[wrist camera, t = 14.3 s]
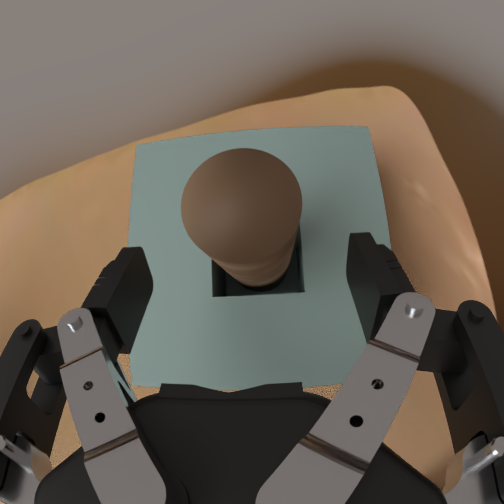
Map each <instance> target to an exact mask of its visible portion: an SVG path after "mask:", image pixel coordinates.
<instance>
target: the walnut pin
mask: <svg viewBox="0 0 504 504" xmlns="http://www.w3.org/2000/svg"><path fill="white" fill-rule="evenodd" d="M301 213H302V193H301V189H300V186H299V183H298V181H297V179H296V177H295V175H294V174H293V172H292V171H291V169H290V168H289V167H288V166H287V165H286V164H285V163H284V162H283V161H281V160H280V159H279V158H277V157H275V156H274V155H272V154H270V153H267V152H265V151H262V150H257V149H252V148H237V149H230V150H227V151H223V152H221V153H218V154H216V155H214V156H212V157H210V158H209V159H207V160H206V161H204V162H203V163H202V164H201V165H200V166H199V167H198V168H197V169H196V170H195V171H194V172H193V174H192V175H191V176H190V178H189V180H188V181H187V183H186V185H185V188H184V191H183V194H182V199H181V216H182V222H183V225H184V228H185V230H186V232H187V234H188V236H189V237H190V238H191V240H192V241H193V242H194V243H195V245H196V246H197V247H198V248H200V249H201V250H202V251H203V252H204V253H205V254H207V255H208V256H209V257H210V258H211V259H212V260H214V261H215V262H216V263H217V264H218V265H219V266H221V267H222V268H223V269H224V270H225V271H226V272H228V273H229V274H230V275H231V276H232V277H233V278H235V279H236V280H237V281H238V282H239V283H241V284H242V285H243V286H244V287H246V288H247V289H249V290H252V291H256V292H265V291H269V290H272V289H274V288H276V287H277V286H278V285H280V284H281V283H282V281H283V280H284V278H285V277H286V274H287V271H288V267H289V263H290V259H291V255H292V251H293V247H294V243H295V239H296V235H297V230H298V226H299V222H300V218H301Z"/></svg>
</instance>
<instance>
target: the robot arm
mask: <svg viewBox="0 0 504 504" xmlns="http://www.w3.org/2000/svg"><path fill="white" fill-rule="evenodd" d="M346 277H347V282H348V285H349V288H350V291H351V295H352V298H353V301H354V304H355V307H356V310H357V313H358V316H359V319H360V323H361V326H362V329H363V333H364V336H365V339H366V343H367V345H366V347H365V349H364V351H363V352H362V354H361V356H360V357H359V359H358V361H357V362H356V364H355V366H354V367H353V369H352V370H351V372H350V374H349V375H348V377H347V378H346V380H345V381H344V383H343V384H342V386H341V388H340V389H339V391H338V392H337V394H336V395H335V397H334V398H333V400H332V401H331V400H329V399H327V398H325V397H323V396H320V395H317V394H313V393H309V392H303V386H302V382H292V383H275V384H264V385H260V386H256V387H252V388H248V389H244V390H240V391H235V392H230V393H227V392H222V391H218V390H214V389H209V388H205V387H201V386H197V385H193V384H168V383H161V387H160V391H159V393H156V394H153V395H149V396H146V397H144V398H141V399H140V400H137V398H136V396H135V394H134V392H133V390H132V388H131V386H130V384H129V382H128V380H127V378H126V376H125V374H124V372H123V370H122V368H121V365H120V363H119V362H118V360H117V357H118V355H119V353H122V354H130V353H131V350H132V347H133V345H134V342H135V339H136V336H137V333H138V330H139V328H140V325H141V322H142V319H143V317H144V314H145V311H146V308H147V306H148V303H149V301H150V298H151V295H152V293H153V278H152V274H151V271H150V268H149V265H148V262H147V259H146V256H145V253H144V250H143V248H142V247H140V246H137V247H124V248H122V249H121V251H120V253H119V254H118V256H117V257H116V259H115V260H113V261H111V262H110V263H109V264H108V265H107V266H106V267H105V268H104V269H103V270H102V272H101V274H100V275H99V279H97V280H96V282H95V284H94V286H93V287H92V289H91V290H90V292H89V294H88V296H87V297H86V299H85V301H84V303H83V304H82V306H81V308H76V309H73V310H71V311H69V312H67V313H66V314H65V315H64V316H63V317H62V318H61V319H60V320H59V322H58V326H55V327H50V328H46V329H43V328H42V326H41V325H40V323H39V322H38V321H37V320H34V319H31V320H27V321H25V322H23V323H21V324H20V325H19V326H18V327H17V328H16V329H15V331H14V332H13V334H12V336H11V338H10V340H9V341H8V343H7V345H6V347H5V349H4V351H3V353H2V355H1V357H0V501H1V502H3V503H5V504H504V334H503V332H502V330H501V328H500V326H499V324H498V323H497V321H496V319H495V317H494V315H493V314H492V312H491V310H490V309H489V308H488V307H487V306H486V305H484V304H482V303H481V302H478V301H474V300H467V301H464V302H462V303H461V304H460V306H459V307H458V310H457V312H455V311H447V310H440V309H435V306H434V304H433V303H432V301H431V300H430V299H428V298H427V297H426V296H424V295H422V294H419V293H416V292H415V290H414V288H413V286H412V285H411V283H410V281H409V279H408V277H407V276H406V274H405V272H404V270H403V269H402V267H401V265H400V263H399V262H398V260H397V258H396V256H395V255H394V253H393V251H392V250H390V249H389V248H388V247H386V246H385V245H384V244H376V242H375V240H374V238H373V236H372V235H371V233H370V232H358V233H350V235H349V242H348V253H347V263H346ZM33 369H34V370H35V372H36V373H37V374H38V375H39V379H38V381H37V384H36V386H35V389H34V391H33V394H32V397H31V399H30V398H29V397H28V395H27V391H26V387H27V383H28V381H29V378H30V376H31V374H32V371H33ZM416 370H419V371H428V372H433V373H434V376H435V380H436V383H437V386H438V390H439V393H440V396H441V400H442V403H443V407H444V411H445V415H446V418H447V422H448V426H449V430H450V434H451V439H452V443H453V448H454V452H455V455H454V456H453V457H452V458H451V459H450V461H449V463H448V465H447V468H446V482H445V486H444V488H443V490H442V491H441V490H440V489H439V488H438V487H437V486H436V485H435V484H434V483H432V482H431V481H430V480H429V479H427V478H426V477H425V476H423V475H422V474H421V473H420V472H418V471H417V470H416V469H415V468H413V467H412V466H411V465H410V464H408V463H407V462H406V461H405V460H403V459H402V458H401V457H400V456H399V455H397V454H396V453H395V452H394V451H392V450H391V449H390V448H389V447H388V446H386V445H385V444H384V443H383V442H382V441H383V439H384V437H385V435H386V433H387V431H388V430H389V428H390V426H391V424H392V422H393V420H394V418H395V416H396V414H397V412H398V410H399V407H400V405H401V403H402V401H403V399H404V397H405V395H406V392H407V390H408V388H409V385H410V383H411V381H412V378H413V376H414V374H415V371H416ZM66 399H67V400H68V404H69V407H70V411H71V414H72V417H73V420H74V424H75V427H76V430H77V433H78V436H79V438H80V441H81V444H82V446H81V447H80V448H79V449H78V450H76V451H75V452H74V453H73V454H71V455H70V456H69V457H68V458H67V459H65V460H64V461H63V462H62V463H60V464H59V465H58V466H57V467H56V468H54V469H53V470H52V467H51V462H50V455H51V451H52V447H53V443H54V439H55V436H56V432H57V429H58V425H59V422H60V418H61V415H62V412H63V409H64V405H65V402H66Z"/></svg>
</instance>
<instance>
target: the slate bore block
mask: <svg viewBox="0 0 504 504" xmlns="http://www.w3.org/2000/svg"><path fill="white" fill-rule="evenodd" d="M237 148H252V149H257V150H262V151H265V152H267V153H270V154H272V155H274V156H275V157H277V158H279V159H280V160H281V161H283V162H284V163H285V164H286V165H287V166H288V167H289V168H290V169H291V171H292V172H293V174H294V175H295V177H296V179H297V181H298V183H299V186H300V189H301V193H302V213H301V218H300V222H299V226H298V230H297V235H296V239H295V243H294V247H293V251H292V255H291V259H290V263H289V267H288V271H287V274H286V277H285V278H284V280H283V281H282V283H281V284H280V285H278V286H277V287H276V288H274V289H272V290H269V291H265V292H256V291H252V290H249V289H247V288H246V287H244V286H243V285H242V284H241V283H239V282H238V281H237V280H236V279H235V278H233V277H232V276H231V275H230V274H229V273H228V272H226V271H225V270H224V269H223V268H222V267H221V266H219V265H218V264H217V263H216V262H215V261H214V260H212V259H211V258H210V257H209V256H208V255H207V254H205V253H204V252H203V251H202V250H201V249H200V248H198V247H197V246H196V245H195V243H194V242H193V241H192V240H191V238H190V237H189V236H188V234H187V232H186V230H185V228H184V225H183V222H182V216H181V199H182V194H183V191H184V188H185V185H186V183H187V181H188V180H189V178H190V176H191V175H192V174H193V172H194V171H195V170H196V169H197V168H198V167H199V166H200V165H201V164H202V163H203V162H204V161H206V160H207V159H209V158H210V157H212V156H214V155H216V154H218V153H221V152H223V151H227V150H230V149H237ZM358 232H370V233H371V235H372V236H373V238H374V240H375V242H376V244H384V245H385V246H386V247H388V248H389V249H390V250H391V243H390V236H389V229H388V222H387V216H386V210H385V204H384V198H383V192H382V187H381V182H380V177H379V172H378V167H377V163H376V158H375V153H374V149H373V145H372V141H371V137H370V133H369V129H368V127H359V126H318V127H288V128H270V129H255V130H243V131H232V132H222V133H213V134H205V135H197V136H189V137H182V138H175V139H169V140H162V141H156V142H150V143H145V144H139V145H137V147H136V155H135V163H134V172H133V181H132V192H131V204H130V218H129V236H128V247H137V246H140V247H142V248H143V250H144V253H145V256H146V259H147V262H148V265H149V268H150V271H151V274H152V278H153V293H152V295H151V298H150V301H149V303H148V306H147V308H146V311H145V314H144V317H143V319H142V322H141V325H140V328H139V330H138V333H137V336H136V339H135V342H134V345H133V347H132V350H131V353H130V354H129V359H130V372H131V384H132V385H133V386H144V387H157V388H160V387H161V383H168V384H193V385H197V386H201V387H205V388H209V389H214V390H244V389H248V388H252V387H256V386H260V385H264V384H275V383H292V382H302V386H303V387H314V386H325V385H334V384H343V383H344V381H345V380H346V378H347V377H348V375H349V374H350V372H351V370H352V369H353V367H354V366H355V364H356V362H357V361H358V359H359V357H360V356H361V354H362V352H363V351H364V349H365V347H366V345H367V343H366V339H365V336H364V333H363V329H362V326H361V323H360V319H359V316H358V313H357V310H356V307H355V304H354V301H353V298H352V295H351V291H350V288H349V285H348V282H347V277H346V263H347V253H348V242H349V235H350V233H358Z"/></svg>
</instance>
